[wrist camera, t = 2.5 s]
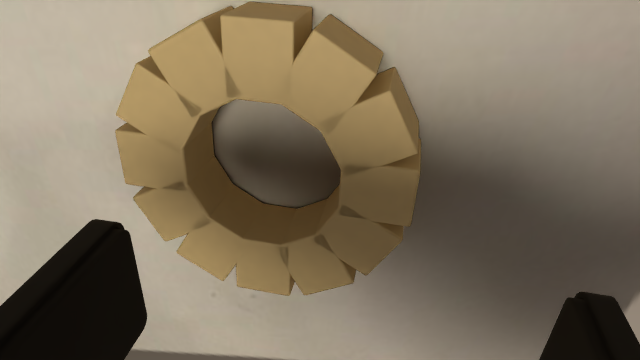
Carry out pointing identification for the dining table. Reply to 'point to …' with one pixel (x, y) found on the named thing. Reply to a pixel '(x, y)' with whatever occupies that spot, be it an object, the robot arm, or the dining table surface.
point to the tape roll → (302, 99)
